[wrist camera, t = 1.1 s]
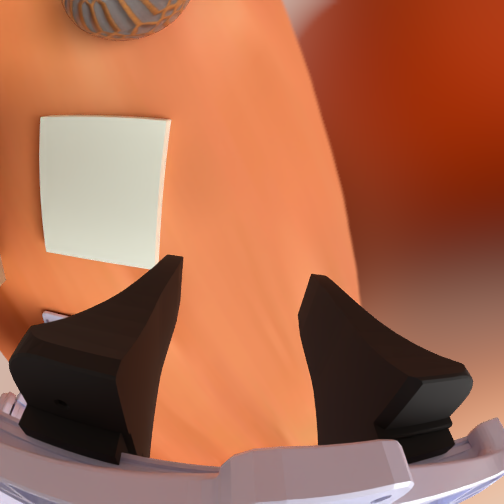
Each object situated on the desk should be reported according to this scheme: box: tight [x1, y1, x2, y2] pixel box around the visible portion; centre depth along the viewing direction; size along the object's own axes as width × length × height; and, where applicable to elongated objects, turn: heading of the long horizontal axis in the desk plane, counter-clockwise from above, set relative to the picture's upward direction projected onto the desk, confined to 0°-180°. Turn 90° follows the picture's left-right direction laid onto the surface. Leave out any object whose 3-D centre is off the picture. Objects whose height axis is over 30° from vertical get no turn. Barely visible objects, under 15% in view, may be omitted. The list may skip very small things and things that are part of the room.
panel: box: [39, 115, 171, 269], centre depth 19 cm, size 10×9×2 cm
